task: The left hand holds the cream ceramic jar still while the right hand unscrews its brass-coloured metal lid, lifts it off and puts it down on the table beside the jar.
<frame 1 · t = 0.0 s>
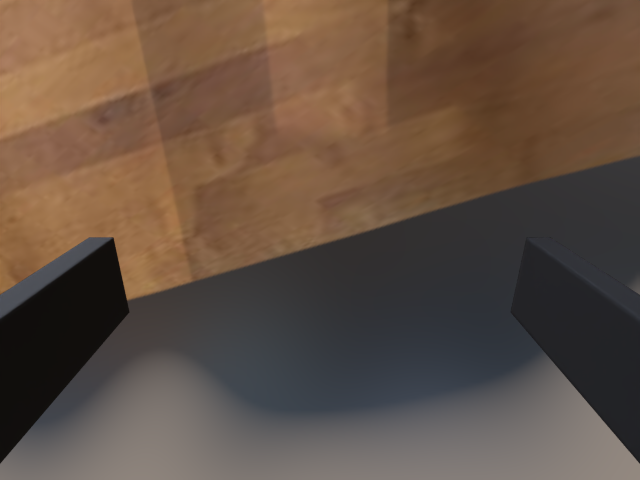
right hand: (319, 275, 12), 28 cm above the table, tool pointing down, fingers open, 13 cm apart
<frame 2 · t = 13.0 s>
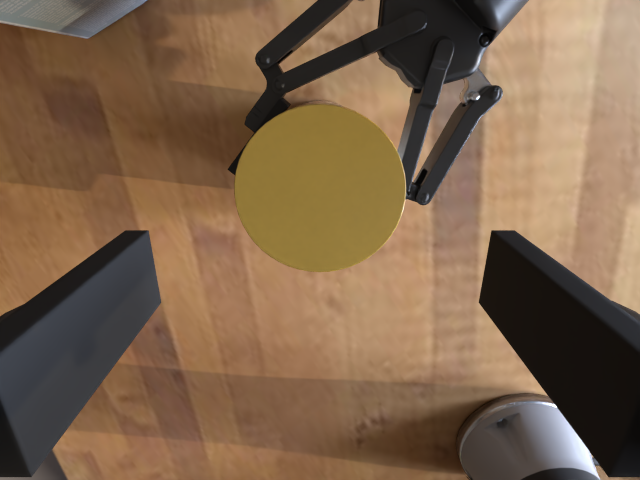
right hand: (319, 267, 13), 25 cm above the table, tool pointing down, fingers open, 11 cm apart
left hand: (285, 207, 31), fingers closed on jar, 9 cm apart
lid: (320, 193, 22), point 15 cm above the table, screwed on, not yet turned
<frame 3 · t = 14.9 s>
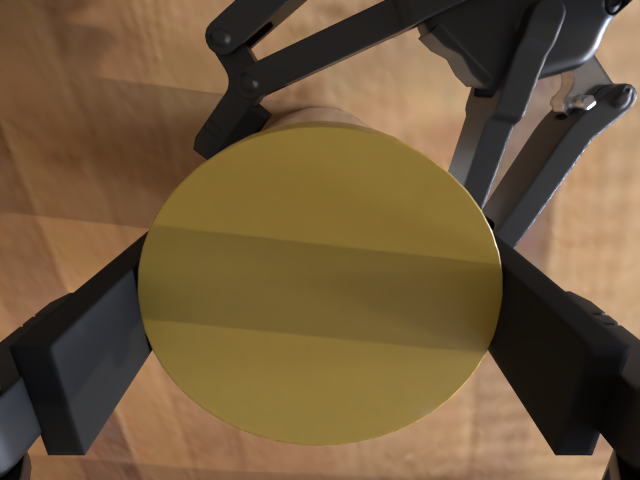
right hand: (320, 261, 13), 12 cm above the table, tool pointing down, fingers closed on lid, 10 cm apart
left hand: (266, 276, 20), fingers closed on jar, 9 cm apart
jar: (320, 182, 25), on the table, touching left hand
lid: (320, 307, 11), point 15 cm above the table, screwed on, not yet turned, touching right hand
when the right hand's fingers open (13 cm above the table, at t = 16.6 s): lid stays where it is, point 16 cm above the table.
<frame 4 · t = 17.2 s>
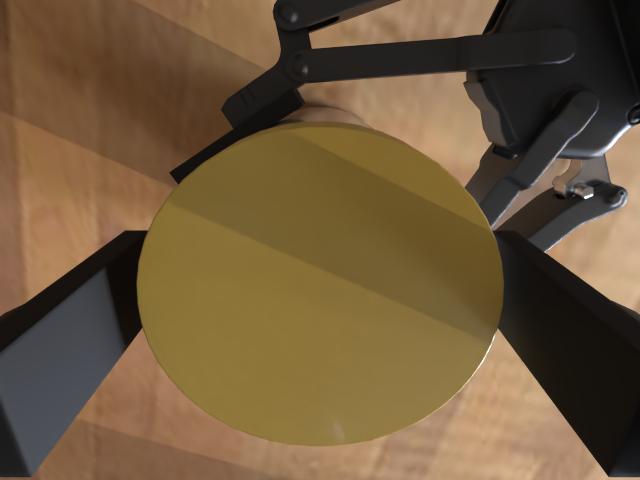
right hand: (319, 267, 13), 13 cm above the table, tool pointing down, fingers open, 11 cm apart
left hand: (246, 255, 20), fingers closed on jar, 9 cm apart
jar: (320, 181, 25), on the table, touching left hand
lid: (320, 308, 11), point 16 cm above the table, turned 91° so far, risen 0.2 cm, still on its thread
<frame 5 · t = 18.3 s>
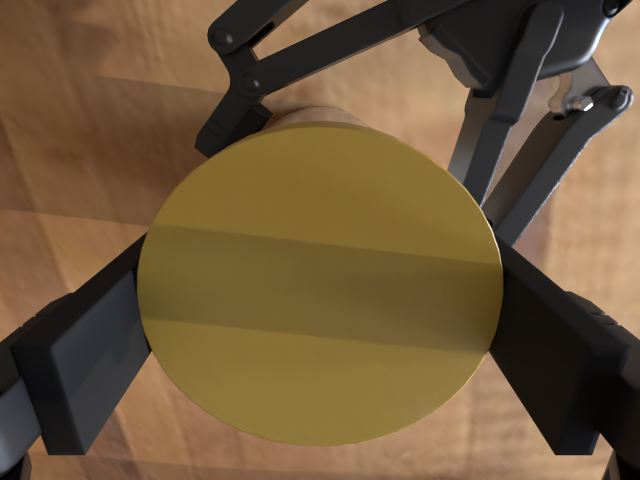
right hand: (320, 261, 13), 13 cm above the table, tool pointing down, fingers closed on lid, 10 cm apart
left hand: (266, 274, 20), fingers closed on jar, 9 cm apart
jar: (319, 181, 25), on the table, touching left hand
lid: (320, 307, 11), point 16 cm above the table, turned 91° so far, risen 0.2 cm, still on its thread, touching right hand
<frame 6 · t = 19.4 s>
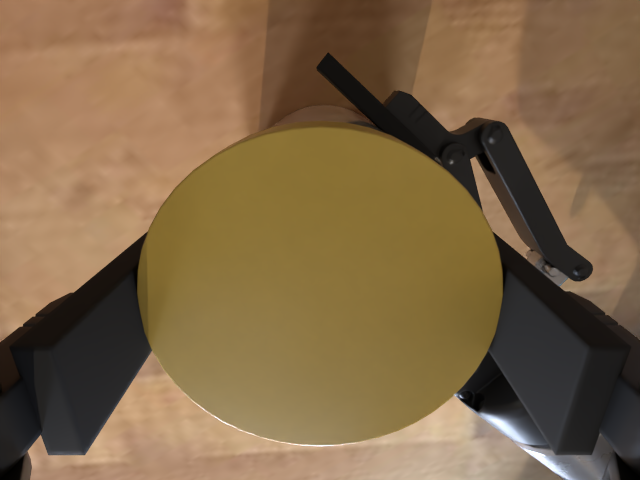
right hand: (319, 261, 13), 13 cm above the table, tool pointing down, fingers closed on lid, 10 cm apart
jar: (323, 177, 26), on the table, touching left hand
lid: (320, 307, 11), point 16 cm above the table, off its thread, touching right hand
when the right hand's fingers open (0 cm above the table, at t = 24.4 s): lid drops 2 cm, point 1 cm above the table.
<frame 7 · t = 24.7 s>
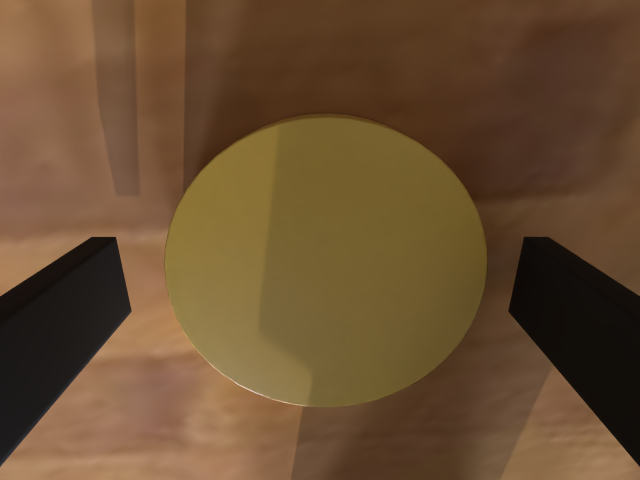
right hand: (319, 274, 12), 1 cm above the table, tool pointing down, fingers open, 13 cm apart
lid: (325, 279, 12), point 1 cm above the table, off its thread
when the left hand's fingers open (7 cm above the table, at t = 25.5 s): jar stays where it is, on the table.
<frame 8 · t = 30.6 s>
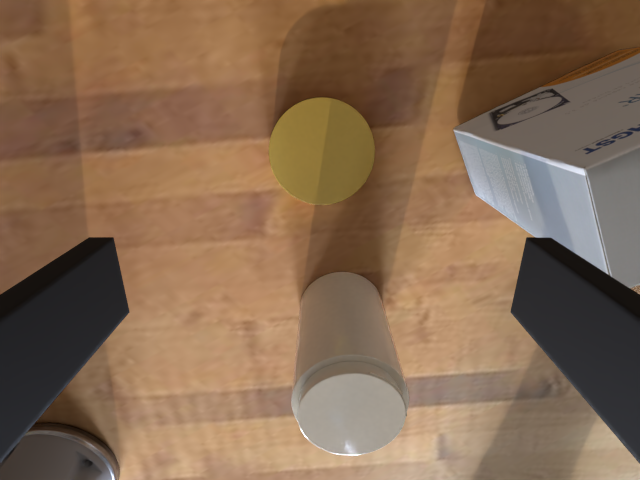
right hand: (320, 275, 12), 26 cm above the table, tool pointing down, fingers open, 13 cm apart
jar: (341, 308, 43), on the table
lid: (321, 153, 35), point 1 cm above the table, off its thread
hard drive box: (540, 127, 36), on the table
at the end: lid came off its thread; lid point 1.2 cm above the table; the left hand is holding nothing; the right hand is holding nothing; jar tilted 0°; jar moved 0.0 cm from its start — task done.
